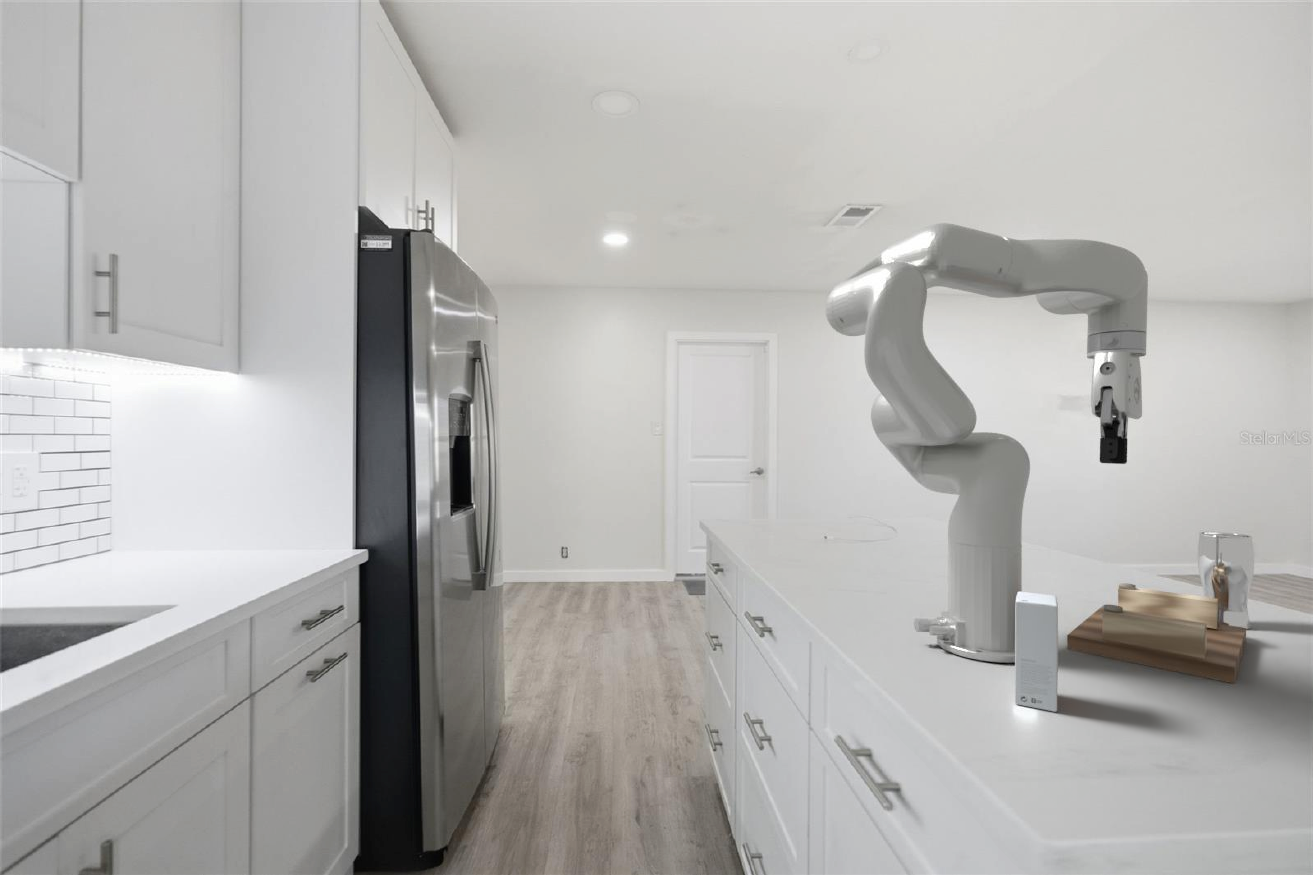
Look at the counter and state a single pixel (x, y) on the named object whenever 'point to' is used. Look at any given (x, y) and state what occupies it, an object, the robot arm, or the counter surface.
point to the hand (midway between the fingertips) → (1113, 463)
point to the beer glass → (1227, 573)
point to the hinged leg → (1169, 604)
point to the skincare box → (1036, 650)
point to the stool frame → (1162, 642)
